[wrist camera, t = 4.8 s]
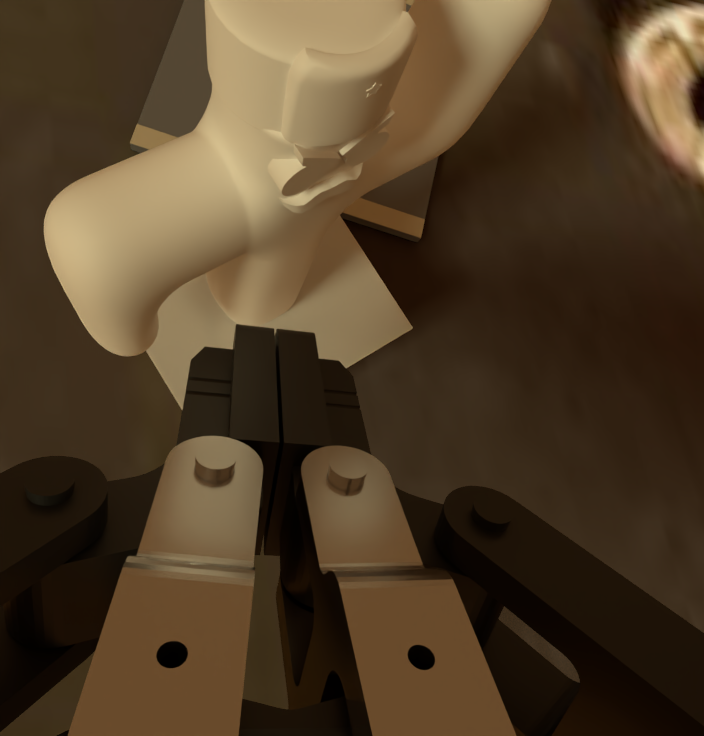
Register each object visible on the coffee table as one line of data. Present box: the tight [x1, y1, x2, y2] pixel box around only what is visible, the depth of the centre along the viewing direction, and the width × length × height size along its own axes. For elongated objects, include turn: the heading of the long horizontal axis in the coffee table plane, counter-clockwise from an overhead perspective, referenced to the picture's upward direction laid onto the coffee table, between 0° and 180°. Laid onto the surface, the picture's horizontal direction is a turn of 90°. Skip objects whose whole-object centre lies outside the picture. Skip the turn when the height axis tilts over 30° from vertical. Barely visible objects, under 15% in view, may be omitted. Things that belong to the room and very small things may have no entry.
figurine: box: [44, 0, 551, 410], centre depth 16 cm, size 7×9×15 cm
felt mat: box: [130, 0, 438, 242], centre depth 26 cm, size 11×11×1 cm
